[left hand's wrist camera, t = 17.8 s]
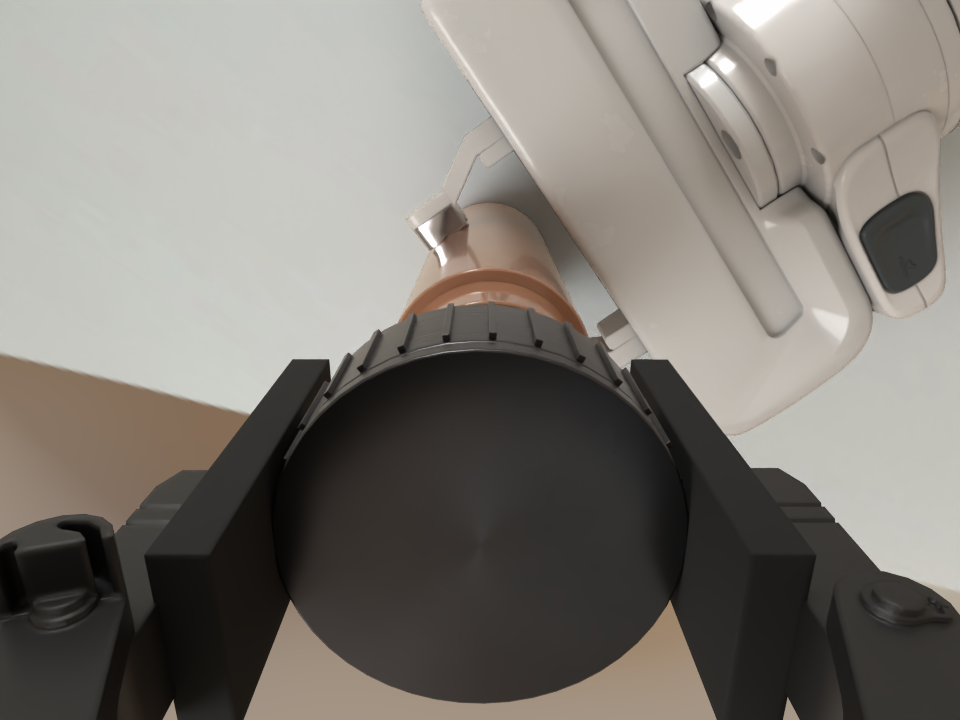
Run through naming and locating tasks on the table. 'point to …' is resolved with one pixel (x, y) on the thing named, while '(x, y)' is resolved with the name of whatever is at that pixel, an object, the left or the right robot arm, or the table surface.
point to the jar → (493, 268)
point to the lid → (480, 507)
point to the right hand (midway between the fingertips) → (471, 305)
